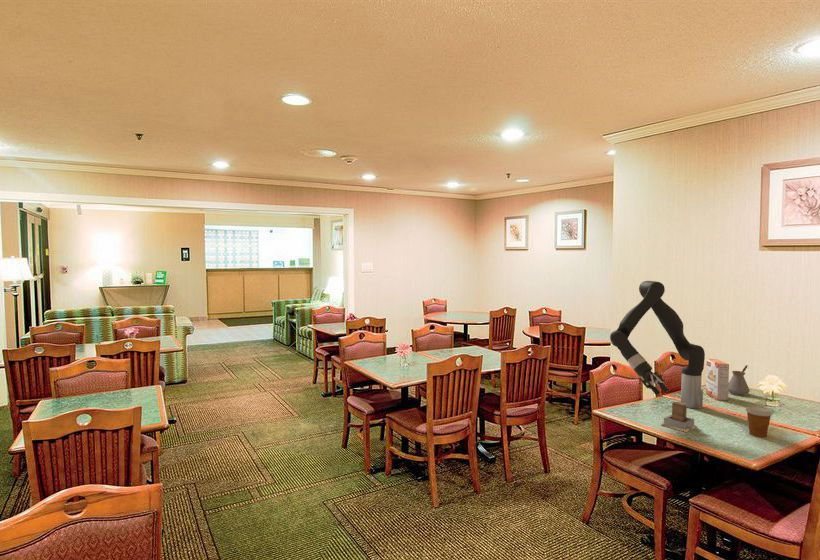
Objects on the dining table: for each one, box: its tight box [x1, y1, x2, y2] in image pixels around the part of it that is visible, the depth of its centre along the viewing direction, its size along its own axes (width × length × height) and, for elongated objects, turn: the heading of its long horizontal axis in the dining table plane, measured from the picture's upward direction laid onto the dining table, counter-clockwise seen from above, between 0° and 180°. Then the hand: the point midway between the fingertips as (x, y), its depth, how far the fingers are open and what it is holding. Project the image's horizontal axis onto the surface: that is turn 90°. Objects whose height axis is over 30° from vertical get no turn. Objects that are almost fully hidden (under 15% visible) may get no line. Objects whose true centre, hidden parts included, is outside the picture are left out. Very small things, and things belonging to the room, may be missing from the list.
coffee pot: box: [728, 364, 751, 396], centre depth 283 cm, size 21×12×15 cm, turn 129°
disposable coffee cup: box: [745, 405, 773, 438], centre depth 213 cm, size 10×10×12 cm
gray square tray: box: [661, 414, 698, 433], centre depth 223 cm, size 11×11×4 cm
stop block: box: [671, 401, 688, 422], centre depth 223 cm, size 4×4×10 cm
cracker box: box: [705, 358, 730, 402], centre depth 272 cm, size 14×6×21 cm, turn 172°
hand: (662, 392), depth 229 cm, fingers open, 8 cm apart
